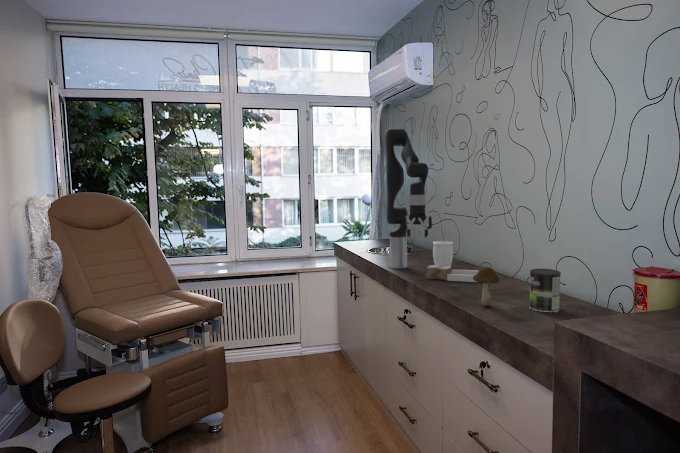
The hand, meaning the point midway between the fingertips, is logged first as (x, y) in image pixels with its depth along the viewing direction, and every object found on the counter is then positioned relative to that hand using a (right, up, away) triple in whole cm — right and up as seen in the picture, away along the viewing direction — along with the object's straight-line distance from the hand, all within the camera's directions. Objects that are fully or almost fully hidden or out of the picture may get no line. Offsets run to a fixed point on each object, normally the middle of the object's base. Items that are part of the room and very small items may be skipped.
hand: (417, 237), depth 225 cm
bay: (+22, -20, -5) cm, 30 cm away
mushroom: (+17, -25, -52) cm, 60 cm away
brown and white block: (+10, -20, -1) cm, 23 cm away
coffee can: (+37, -25, -57) cm, 73 cm away
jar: (+16, -18, +16) cm, 29 cm away
